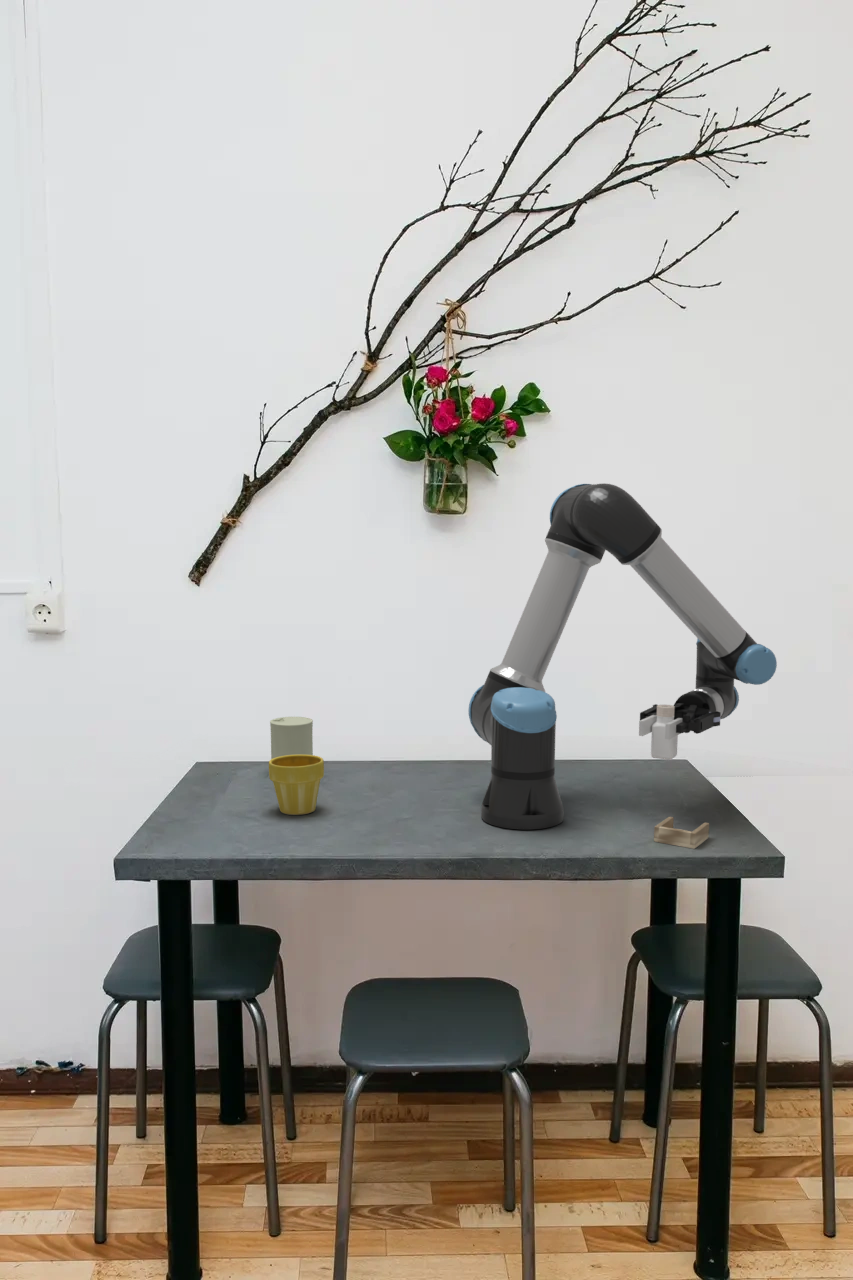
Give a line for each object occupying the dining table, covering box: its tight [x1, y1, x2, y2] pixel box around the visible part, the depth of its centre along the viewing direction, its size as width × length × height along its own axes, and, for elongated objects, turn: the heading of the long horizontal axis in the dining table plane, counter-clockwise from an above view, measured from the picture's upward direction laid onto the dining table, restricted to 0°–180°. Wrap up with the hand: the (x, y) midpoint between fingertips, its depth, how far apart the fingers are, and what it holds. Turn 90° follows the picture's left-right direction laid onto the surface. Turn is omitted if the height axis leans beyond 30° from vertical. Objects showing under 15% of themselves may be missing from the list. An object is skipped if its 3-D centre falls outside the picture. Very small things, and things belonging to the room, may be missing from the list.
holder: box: [653, 816, 710, 850], centre depth 184 cm, size 7×7×3 cm
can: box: [269, 716, 314, 760], centre depth 229 cm, size 9×9×12 cm
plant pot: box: [268, 754, 325, 816], centre depth 201 cm, size 10×10×10 cm
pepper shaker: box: [650, 704, 679, 761], centre depth 193 cm, size 4×4×10 cm
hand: (654, 730), depth 189 cm, fingers closed on pepper shaker, 4 cm apart
